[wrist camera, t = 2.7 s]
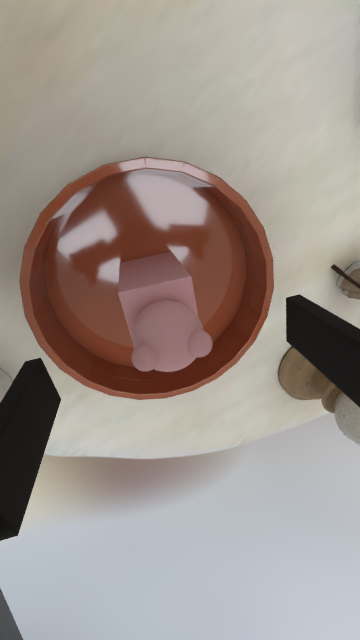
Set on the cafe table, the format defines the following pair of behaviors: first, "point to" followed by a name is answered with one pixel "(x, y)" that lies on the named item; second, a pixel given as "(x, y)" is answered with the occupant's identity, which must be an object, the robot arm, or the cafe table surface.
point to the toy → (349, 280)
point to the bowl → (134, 243)
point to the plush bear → (161, 313)
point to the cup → (4, 384)
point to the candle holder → (319, 392)
